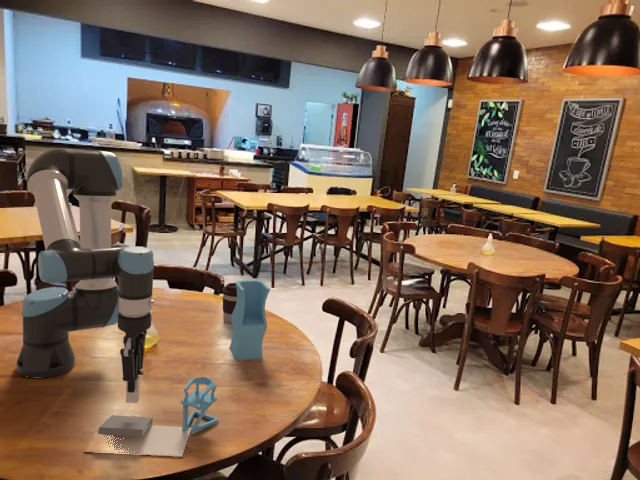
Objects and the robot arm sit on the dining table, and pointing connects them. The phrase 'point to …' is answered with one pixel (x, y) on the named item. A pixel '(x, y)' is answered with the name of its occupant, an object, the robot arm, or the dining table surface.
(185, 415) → the chair
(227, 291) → the coffee cup
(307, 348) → the dining table surface
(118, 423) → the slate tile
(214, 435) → the dining table surface
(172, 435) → the mat
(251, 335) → the blue wavy holder
